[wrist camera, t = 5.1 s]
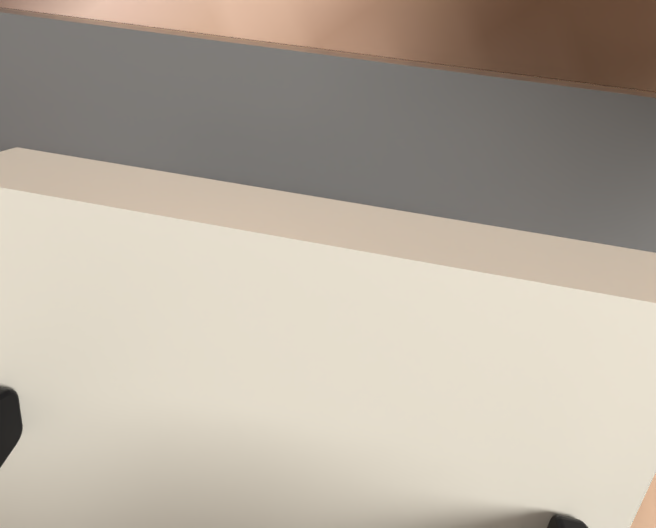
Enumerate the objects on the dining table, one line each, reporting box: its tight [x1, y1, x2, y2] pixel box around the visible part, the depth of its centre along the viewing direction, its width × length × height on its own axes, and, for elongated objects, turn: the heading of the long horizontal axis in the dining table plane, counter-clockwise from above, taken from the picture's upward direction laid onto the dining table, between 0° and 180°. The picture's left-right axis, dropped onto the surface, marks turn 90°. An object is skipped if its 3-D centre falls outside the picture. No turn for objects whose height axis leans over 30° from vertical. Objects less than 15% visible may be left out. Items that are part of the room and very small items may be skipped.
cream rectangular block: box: [0, 147, 656, 528], centre depth 11 cm, size 8×11×4 cm
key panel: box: [0, 7, 656, 253], centre depth 16 cm, size 12×30×2 cm, turn 84°
